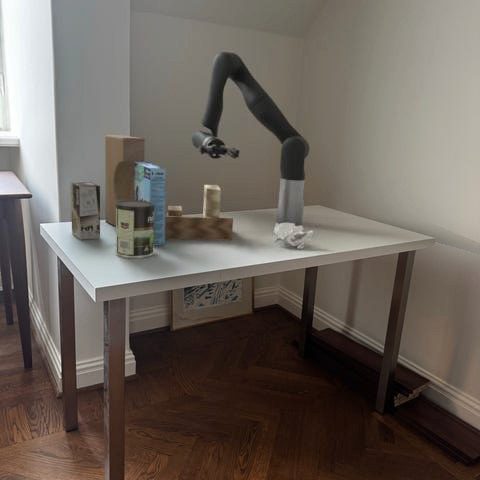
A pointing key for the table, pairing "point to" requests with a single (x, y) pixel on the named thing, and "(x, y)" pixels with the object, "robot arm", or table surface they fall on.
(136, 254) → the coffee can
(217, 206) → the light wooden block
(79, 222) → the coffee box
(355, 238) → the table surface
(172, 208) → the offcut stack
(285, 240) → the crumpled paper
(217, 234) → the brown wooden block
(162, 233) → the light blue carton
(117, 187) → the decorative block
